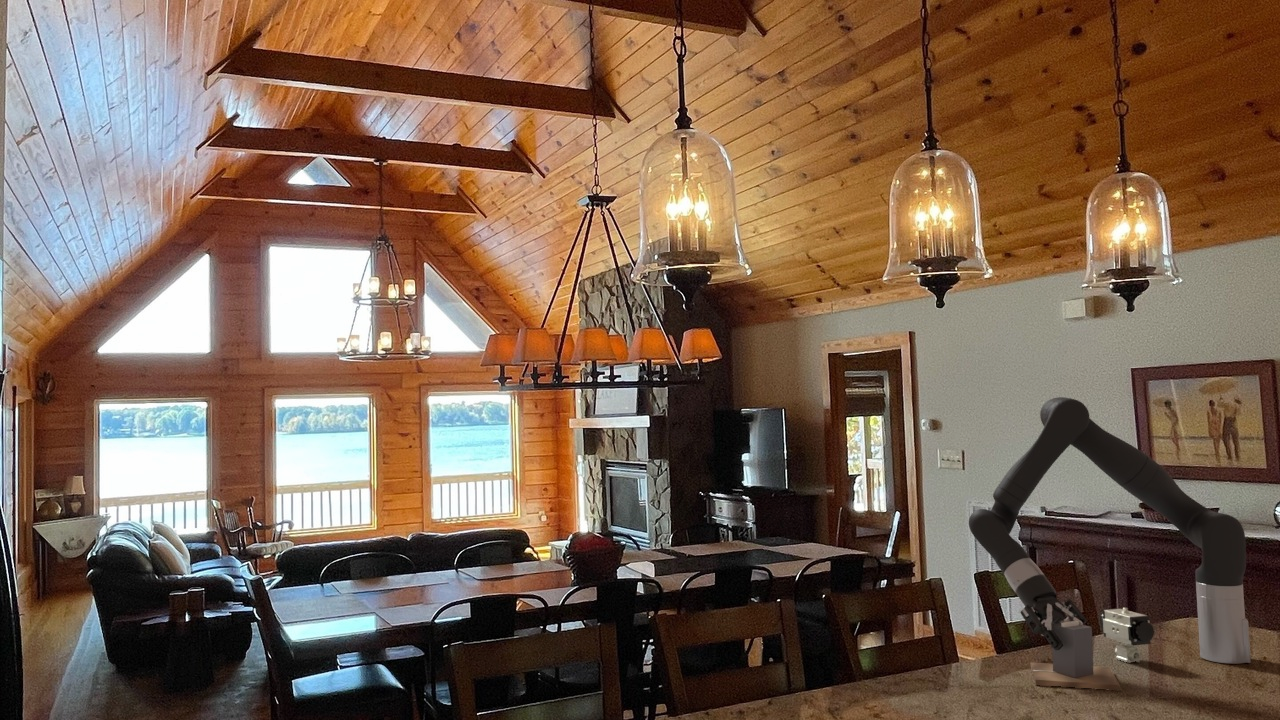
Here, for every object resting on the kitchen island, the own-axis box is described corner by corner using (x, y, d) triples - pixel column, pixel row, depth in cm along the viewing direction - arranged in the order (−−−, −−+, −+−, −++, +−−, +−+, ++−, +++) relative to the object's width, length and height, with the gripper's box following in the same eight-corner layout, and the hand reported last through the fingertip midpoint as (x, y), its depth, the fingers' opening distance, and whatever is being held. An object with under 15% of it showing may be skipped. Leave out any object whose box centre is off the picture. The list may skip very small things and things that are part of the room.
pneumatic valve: (1117, 653, 217) (1114, 602, 218) (1156, 666, 206) (1153, 612, 207) (1097, 656, 216) (1094, 604, 217) (1136, 668, 205) (1133, 614, 205)
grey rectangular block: (1071, 668, 202) (1069, 618, 203) (1093, 674, 197) (1091, 623, 198) (1053, 671, 200) (1051, 620, 200) (1075, 677, 195) (1073, 625, 195)
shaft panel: (1109, 672, 202) (1108, 643, 203) (1120, 691, 189) (1118, 660, 189) (1030, 667, 207) (1029, 639, 208) (1035, 685, 194) (1034, 655, 195)
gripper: (1014, 576, 204) (1060, 640, 193) (1061, 570, 210) (1108, 632, 199) (997, 596, 208) (1040, 659, 197) (1043, 590, 214) (1088, 651, 203)
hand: (1074, 645), depth 198 cm, fingers open, 8 cm apart
